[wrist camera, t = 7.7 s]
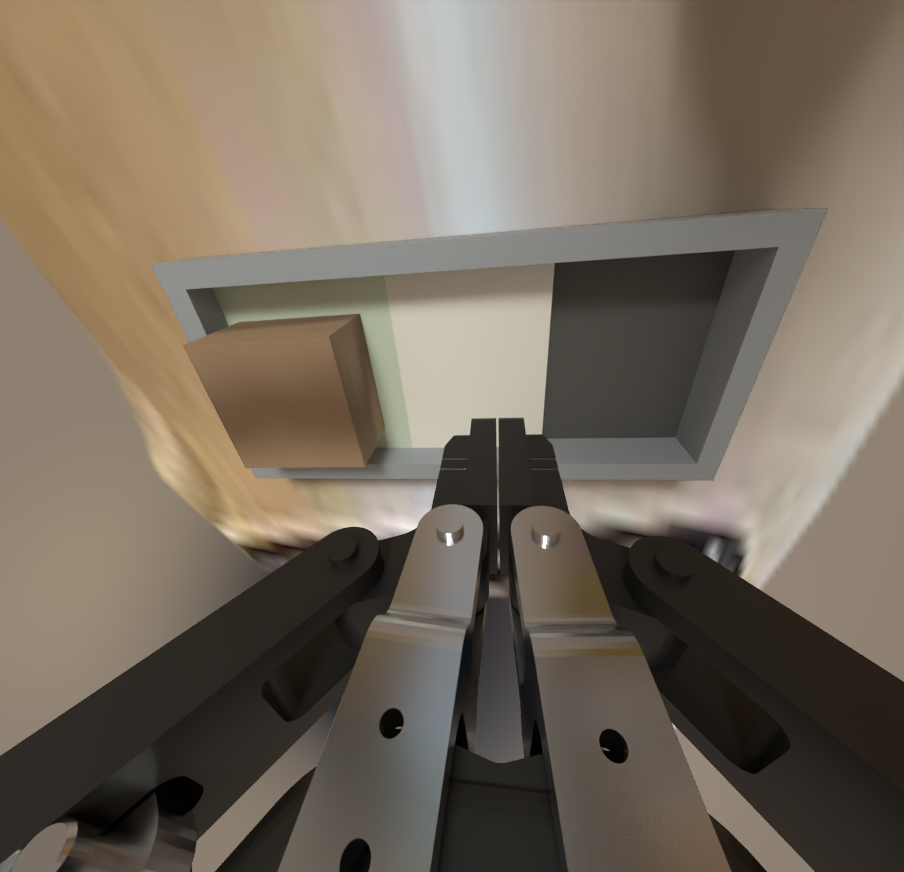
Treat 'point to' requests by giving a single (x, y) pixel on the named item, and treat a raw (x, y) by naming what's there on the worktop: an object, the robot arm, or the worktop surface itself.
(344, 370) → the block
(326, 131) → the worktop surface
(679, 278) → the tray
